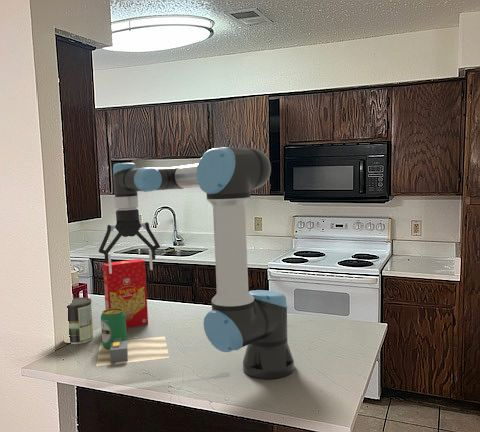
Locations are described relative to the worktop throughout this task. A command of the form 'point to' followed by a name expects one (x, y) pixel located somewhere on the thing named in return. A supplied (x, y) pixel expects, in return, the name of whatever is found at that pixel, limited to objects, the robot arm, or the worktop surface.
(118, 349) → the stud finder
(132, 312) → the food packaging
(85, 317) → the coffee can
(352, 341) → the worktop surface
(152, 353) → the beige flat sheet
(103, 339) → the beverage can
